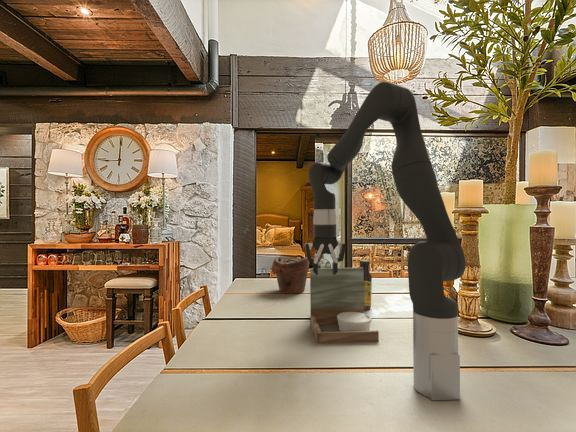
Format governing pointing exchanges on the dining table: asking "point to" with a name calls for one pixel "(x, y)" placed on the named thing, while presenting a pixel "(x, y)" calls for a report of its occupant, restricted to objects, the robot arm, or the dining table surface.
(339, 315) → the ramekin
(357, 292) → the cold frame
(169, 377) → the dining table surface
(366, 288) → the sauce bottle
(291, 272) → the brown flower pot
